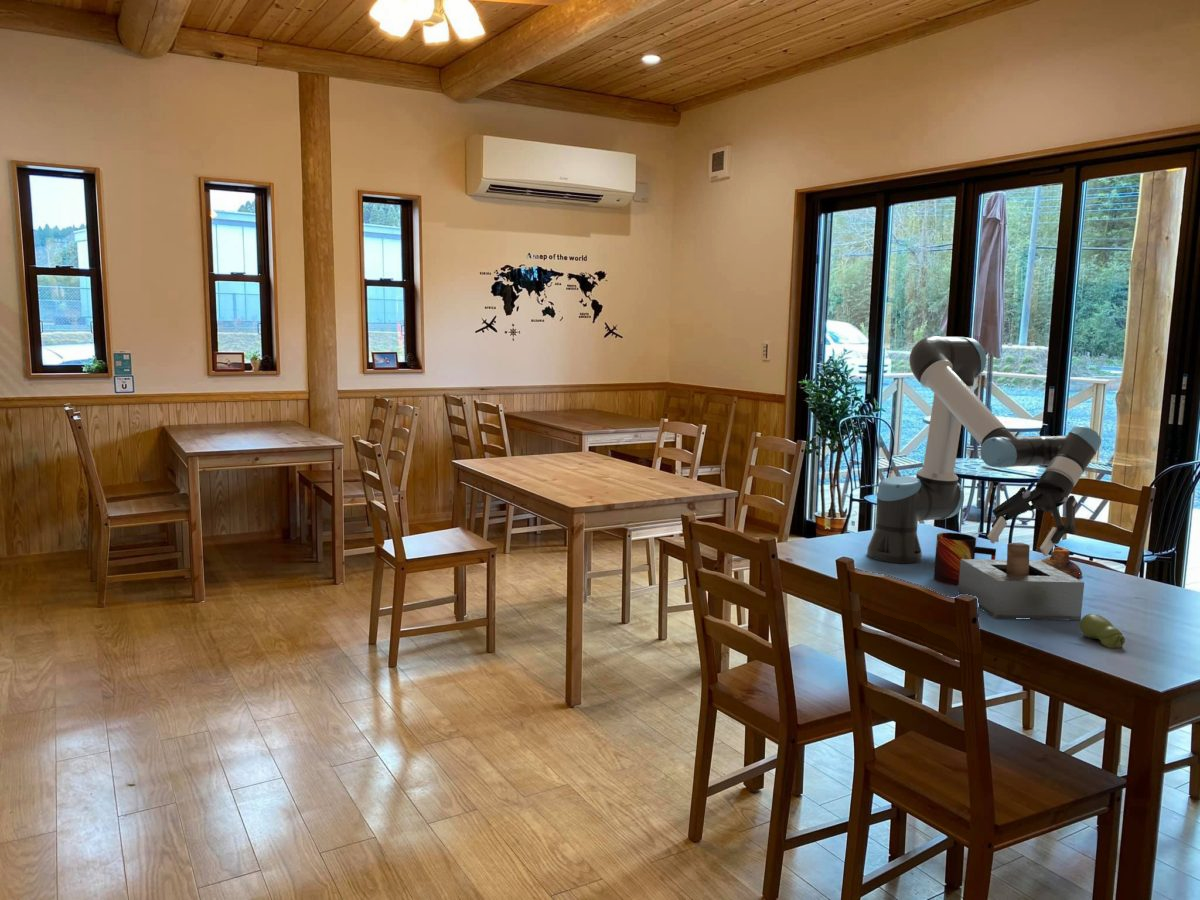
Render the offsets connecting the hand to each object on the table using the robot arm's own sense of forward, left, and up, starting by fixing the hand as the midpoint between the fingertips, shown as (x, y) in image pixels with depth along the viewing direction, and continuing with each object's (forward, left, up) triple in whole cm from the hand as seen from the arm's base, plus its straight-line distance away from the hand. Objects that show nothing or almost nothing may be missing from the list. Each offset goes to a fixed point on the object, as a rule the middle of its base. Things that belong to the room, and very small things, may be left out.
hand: (1016, 546), depth 212 cm
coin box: (-1, +2, -15) cm, 15 cm away
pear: (+23, +8, -15) cm, 29 cm away
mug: (-24, -2, -15) cm, 28 cm away
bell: (-34, +30, -16) cm, 48 cm away
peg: (-1, +2, -14) cm, 14 cm away
